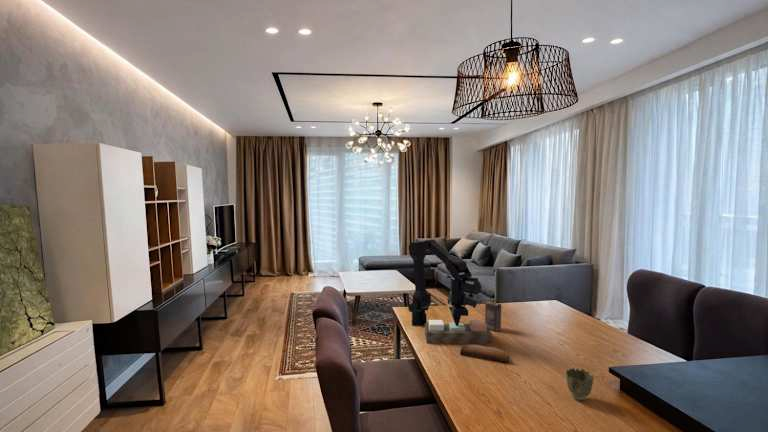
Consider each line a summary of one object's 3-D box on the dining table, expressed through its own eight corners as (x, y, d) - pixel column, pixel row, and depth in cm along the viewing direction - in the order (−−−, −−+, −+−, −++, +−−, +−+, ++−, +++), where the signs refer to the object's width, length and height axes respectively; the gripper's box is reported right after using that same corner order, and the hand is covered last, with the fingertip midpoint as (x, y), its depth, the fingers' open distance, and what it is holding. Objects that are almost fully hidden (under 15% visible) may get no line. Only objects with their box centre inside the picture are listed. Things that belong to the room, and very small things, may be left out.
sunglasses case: (511, 354, 143) (510, 343, 139) (509, 370, 137) (508, 359, 134) (464, 346, 150) (462, 336, 147) (461, 361, 145) (459, 350, 141)
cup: (560, 392, 115) (561, 368, 115) (582, 391, 116) (583, 367, 116) (574, 406, 108) (575, 380, 108) (598, 405, 109) (599, 378, 108)
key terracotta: (472, 335, 156) (472, 325, 155) (469, 330, 162) (469, 320, 161) (486, 335, 155) (486, 325, 155) (483, 330, 161) (483, 320, 161)
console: (426, 343, 154) (426, 332, 154) (424, 333, 165) (424, 323, 164) (491, 343, 153) (491, 333, 153) (485, 334, 164) (485, 324, 164)
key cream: (429, 335, 156) (429, 324, 156) (428, 329, 162) (428, 319, 162) (443, 335, 156) (443, 324, 156) (442, 329, 162) (442, 319, 162)
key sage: (450, 338, 156) (451, 327, 156) (448, 332, 162) (449, 322, 162) (465, 338, 156) (465, 327, 155) (462, 332, 162) (462, 322, 161)
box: (501, 329, 169) (501, 303, 169) (495, 331, 167) (496, 305, 166) (490, 325, 174) (490, 300, 173) (484, 328, 171) (484, 302, 170)
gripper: (481, 295, 148) (480, 333, 149) (471, 284, 167) (471, 318, 168) (453, 295, 148) (453, 333, 149) (447, 284, 167) (446, 317, 168)
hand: (456, 325), depth 159 cm, fingers closed, pressing on key sage
